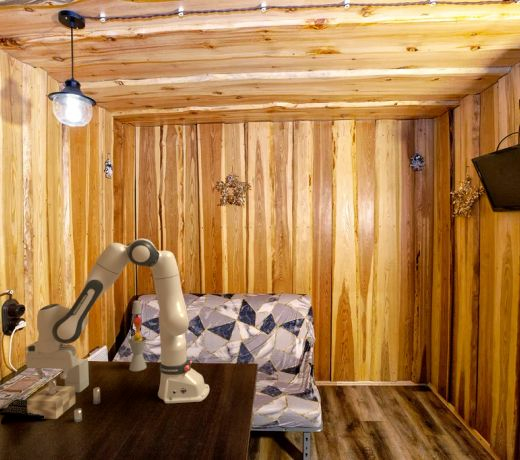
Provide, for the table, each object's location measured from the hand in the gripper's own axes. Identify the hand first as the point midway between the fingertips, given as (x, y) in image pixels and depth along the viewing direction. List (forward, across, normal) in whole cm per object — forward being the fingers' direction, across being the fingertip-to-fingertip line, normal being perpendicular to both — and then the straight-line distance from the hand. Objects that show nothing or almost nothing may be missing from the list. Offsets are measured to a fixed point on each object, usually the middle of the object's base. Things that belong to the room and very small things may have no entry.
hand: (52, 378), depth 143 cm
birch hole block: (+13, +1, 0) cm, 13 cm away
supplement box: (+14, +2, -18) cm, 22 cm away
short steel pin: (+13, -14, +6) cm, 21 cm away
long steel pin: (+13, 0, 0) cm, 13 cm away
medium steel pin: (+14, -14, -7) cm, 21 cm away
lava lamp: (+14, -16, -42) cm, 47 cm away
